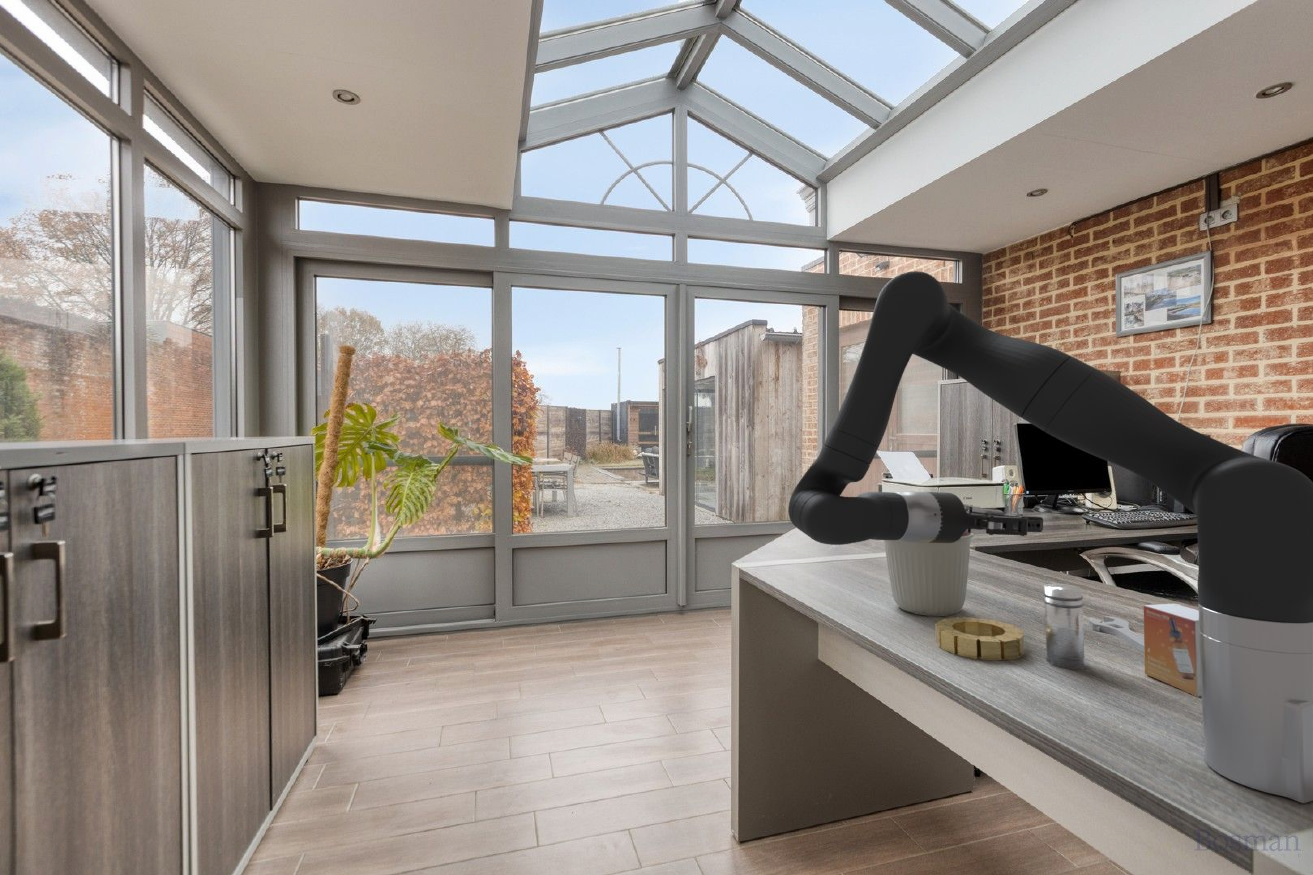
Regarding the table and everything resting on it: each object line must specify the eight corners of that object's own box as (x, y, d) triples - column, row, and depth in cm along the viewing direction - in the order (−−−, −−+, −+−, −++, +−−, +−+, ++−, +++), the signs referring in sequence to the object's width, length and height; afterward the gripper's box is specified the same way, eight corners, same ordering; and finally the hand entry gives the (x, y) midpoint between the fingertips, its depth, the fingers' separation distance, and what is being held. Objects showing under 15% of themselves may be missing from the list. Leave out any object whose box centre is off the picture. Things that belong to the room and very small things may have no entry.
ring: (1043, 653, 99) (1042, 635, 99) (979, 664, 95) (978, 645, 95) (978, 630, 112) (977, 614, 112) (920, 639, 108) (919, 622, 108)
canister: (874, 597, 136) (871, 505, 136) (959, 598, 133) (955, 504, 133) (893, 622, 118) (890, 515, 118) (991, 623, 115) (987, 514, 116)
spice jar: (1093, 666, 93) (1090, 589, 93) (1068, 671, 91) (1065, 592, 91) (1062, 655, 98) (1059, 582, 98) (1038, 659, 96) (1035, 585, 96)
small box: (1143, 675, 89) (1141, 604, 89) (1178, 672, 90) (1175, 602, 90) (1197, 697, 81) (1194, 620, 81) (1234, 694, 82) (1231, 617, 82)
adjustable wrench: (1198, 677, 89) (1197, 665, 89) (1146, 674, 91) (1146, 662, 91) (1121, 625, 113) (1120, 615, 113) (1081, 623, 115) (1081, 614, 115)
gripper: (956, 497, 82) (1059, 501, 85) (897, 486, 96) (987, 490, 99) (953, 552, 82) (1055, 554, 85) (894, 533, 96) (984, 535, 99)
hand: (1018, 519), depth 92 cm, fingers open, 8 cm apart
